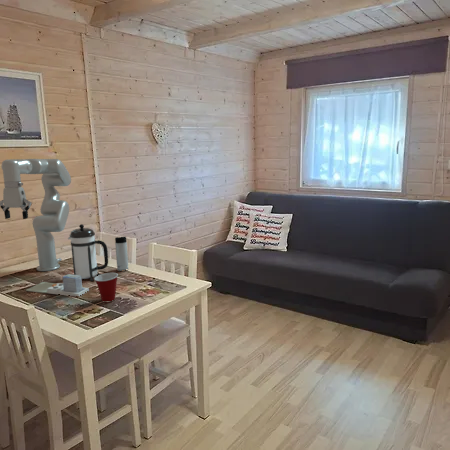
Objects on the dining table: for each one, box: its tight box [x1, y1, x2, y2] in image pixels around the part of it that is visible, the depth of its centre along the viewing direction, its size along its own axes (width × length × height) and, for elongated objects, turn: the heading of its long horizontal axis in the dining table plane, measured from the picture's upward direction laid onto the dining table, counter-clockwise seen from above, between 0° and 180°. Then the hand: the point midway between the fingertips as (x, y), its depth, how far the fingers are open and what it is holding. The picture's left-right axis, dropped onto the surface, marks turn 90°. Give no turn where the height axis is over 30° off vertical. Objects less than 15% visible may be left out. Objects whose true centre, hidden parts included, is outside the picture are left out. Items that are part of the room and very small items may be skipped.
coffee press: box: [67, 223, 109, 282], centre depth 215 cm, size 17×16×30 cm
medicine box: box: [62, 273, 83, 293], centre depth 196 cm, size 8×4×9 cm, turn 71°
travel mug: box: [114, 236, 129, 272], centre depth 229 cm, size 6×7×20 cm
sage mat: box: [25, 281, 58, 294], centre depth 204 cm, size 12×12×1 cm
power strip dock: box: [46, 282, 90, 297], centre depth 197 cm, size 8×18×3 cm, turn 73°
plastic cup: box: [93, 272, 119, 302], centre depth 186 cm, size 11×11×12 cm
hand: (16, 218), depth 204 cm, fingers open, 9 cm apart
